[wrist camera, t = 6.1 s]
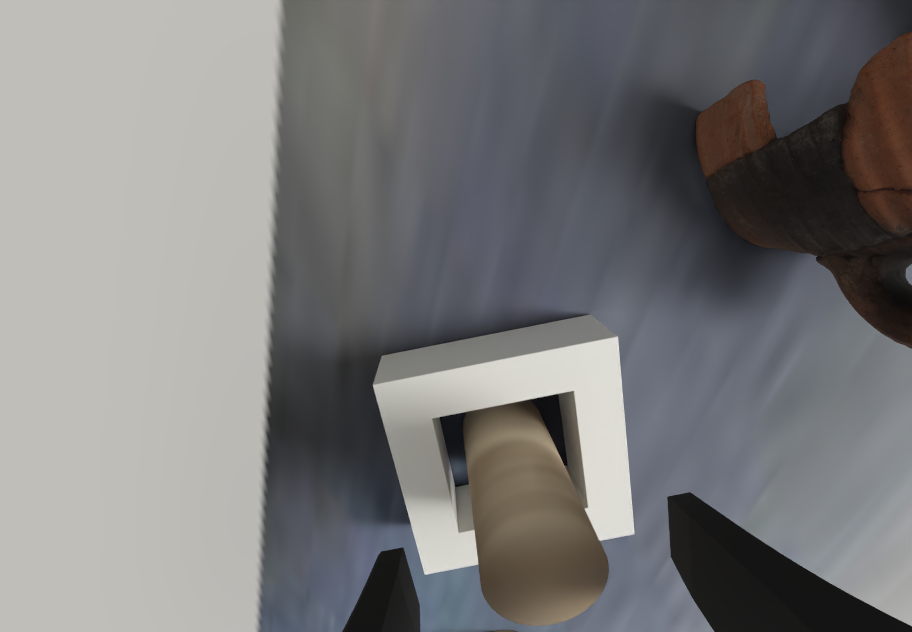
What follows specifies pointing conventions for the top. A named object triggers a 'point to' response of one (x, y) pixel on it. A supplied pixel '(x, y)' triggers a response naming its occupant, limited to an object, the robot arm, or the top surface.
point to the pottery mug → (826, 183)
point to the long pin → (528, 519)
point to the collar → (497, 383)
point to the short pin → (505, 631)
